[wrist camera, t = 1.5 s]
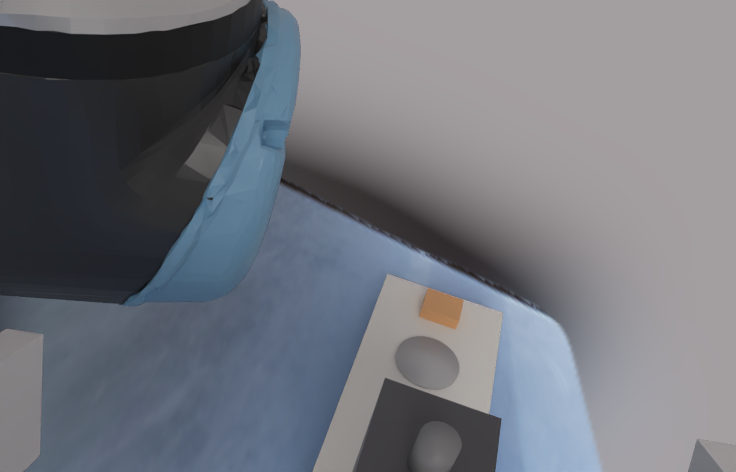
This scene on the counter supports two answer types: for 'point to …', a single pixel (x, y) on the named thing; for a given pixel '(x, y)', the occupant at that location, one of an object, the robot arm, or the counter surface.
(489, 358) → the power strip
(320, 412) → the counter surface
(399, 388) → the grey block with knob
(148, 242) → the robot arm
